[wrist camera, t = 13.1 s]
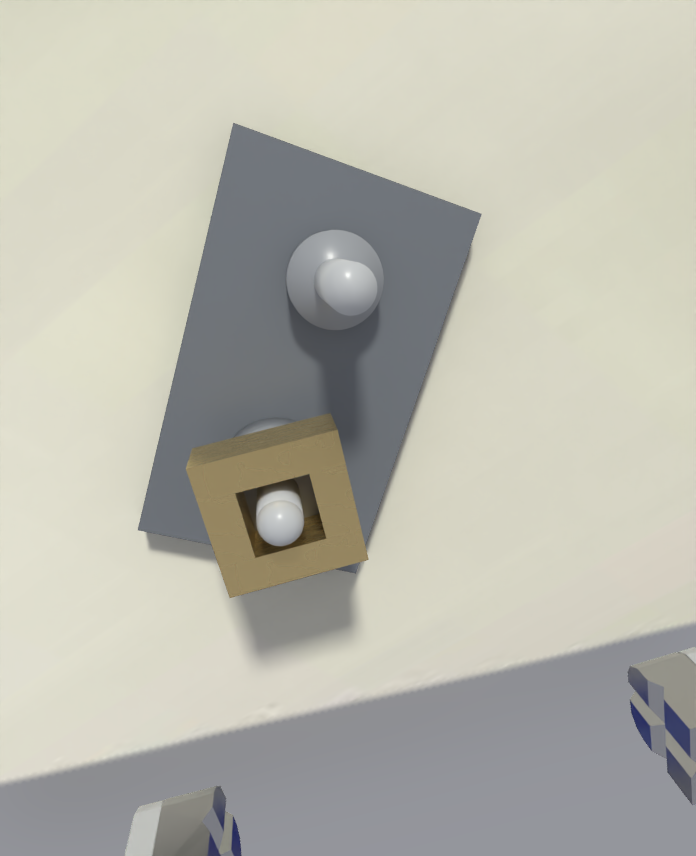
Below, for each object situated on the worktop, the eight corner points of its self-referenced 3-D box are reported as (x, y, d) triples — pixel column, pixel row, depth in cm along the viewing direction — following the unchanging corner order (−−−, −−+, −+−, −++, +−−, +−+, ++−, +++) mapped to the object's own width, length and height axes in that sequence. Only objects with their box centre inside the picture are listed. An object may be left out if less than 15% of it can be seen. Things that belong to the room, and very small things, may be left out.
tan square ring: (330, 412, 26) (337, 429, 24) (359, 533, 28) (368, 559, 26) (192, 448, 26) (185, 468, 23) (232, 568, 28) (229, 598, 26)
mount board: (470, 215, 29) (552, 205, 21) (351, 559, 34) (380, 657, 26) (234, 129, 26) (225, 79, 18) (143, 517, 31) (103, 611, 23)
